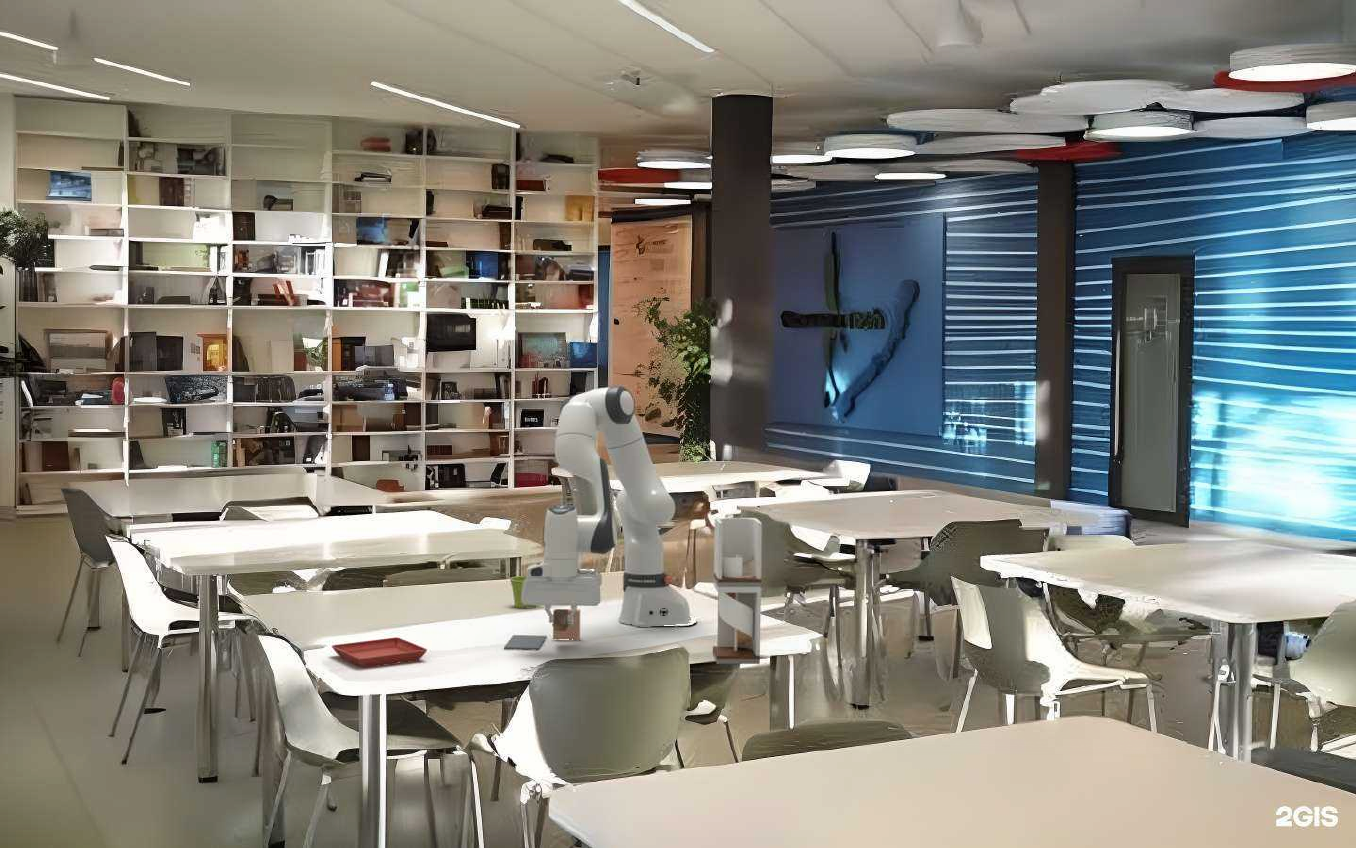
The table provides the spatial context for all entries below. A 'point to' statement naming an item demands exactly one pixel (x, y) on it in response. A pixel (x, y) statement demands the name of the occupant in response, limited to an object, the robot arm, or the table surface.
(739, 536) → the display case
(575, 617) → the tile
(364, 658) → the plant saucer
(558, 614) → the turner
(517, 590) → the plant pot
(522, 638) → the mat
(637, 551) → the robot arm
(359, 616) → the table surface
